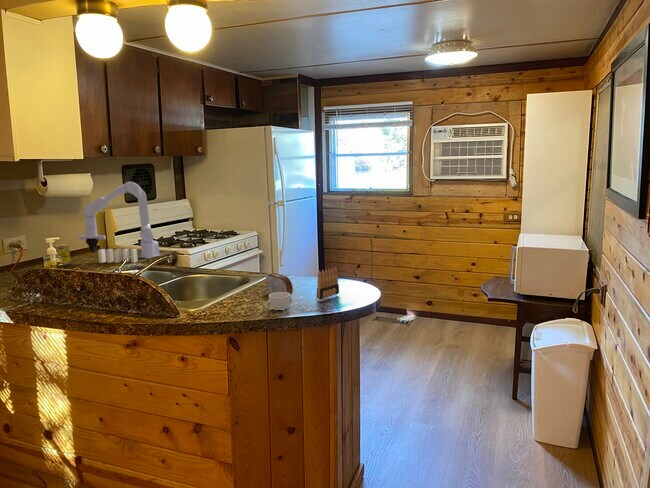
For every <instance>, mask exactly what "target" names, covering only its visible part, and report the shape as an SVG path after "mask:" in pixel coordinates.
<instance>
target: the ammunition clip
mask: <svg viewBox="0 0 650 488" xmlns="http://www.w3.org/2000/svg"><path fill="white" fill-rule="evenodd" d="M337 268H338V267H336V265H335V267H331V269H330V267H328V268H325V270H324V269H321V270H318V273H317V287H316V299H317V298H318V299H322V298H325V297H328V296H332V295H335V294H338V293H339V294H340V286H339V277H338V269H337Z"/></svg>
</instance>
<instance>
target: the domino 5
mask: <svg viewBox="0 0 650 488" xmlns="http://www.w3.org/2000/svg"><path fill="white" fill-rule="evenodd" d="M129 253H130V262H131V263H137V262H138V260H139V259H138V258H139V257H138V249H137V248H132V249H129Z"/></svg>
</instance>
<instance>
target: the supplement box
mask: <svg viewBox="0 0 650 488" xmlns="http://www.w3.org/2000/svg"><path fill="white" fill-rule="evenodd" d="M53 247H54V248H55V249H56V252H57V254H58V255H60V256H61V259H62V264H63V266H62V267H65V266H66V267H67V266H71V265H72V264H71V255H70V254H71V253H70V245H68V244H64V243H63V244H56V245H53V246H52V248H53Z"/></svg>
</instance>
